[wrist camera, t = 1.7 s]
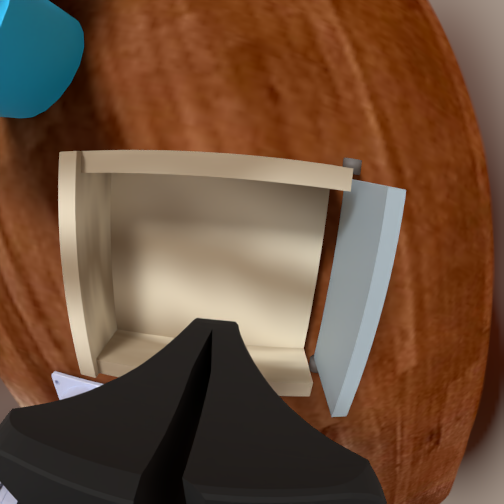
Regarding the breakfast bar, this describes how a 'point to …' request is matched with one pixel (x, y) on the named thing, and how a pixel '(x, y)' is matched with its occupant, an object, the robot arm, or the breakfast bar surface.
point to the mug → (36, 55)
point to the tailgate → (357, 288)
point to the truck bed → (193, 253)
